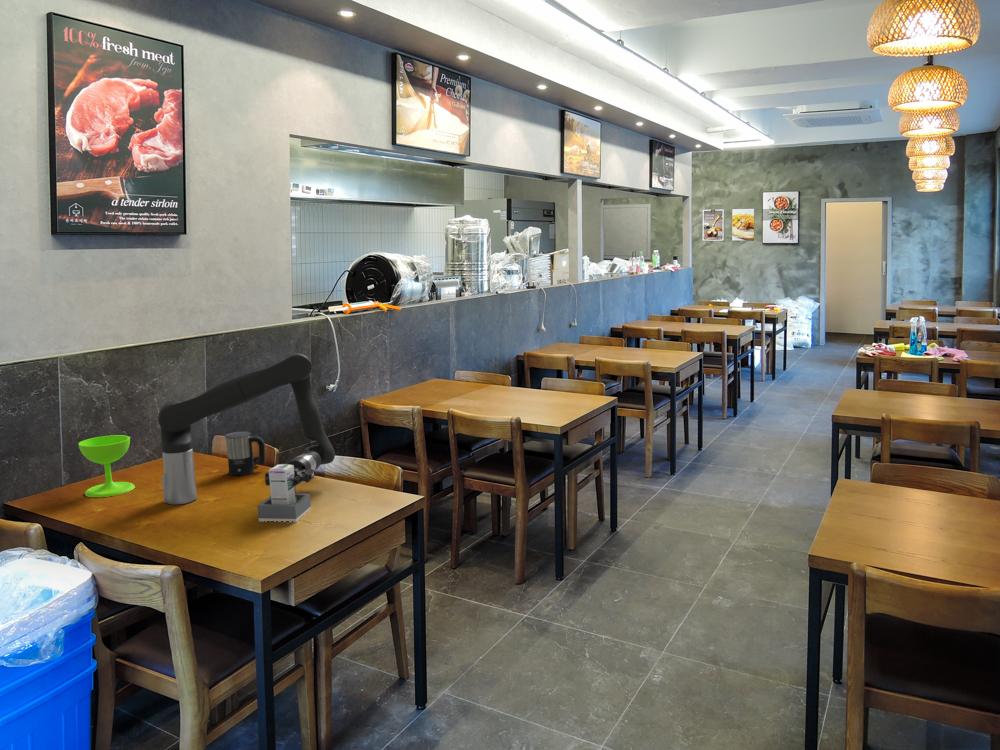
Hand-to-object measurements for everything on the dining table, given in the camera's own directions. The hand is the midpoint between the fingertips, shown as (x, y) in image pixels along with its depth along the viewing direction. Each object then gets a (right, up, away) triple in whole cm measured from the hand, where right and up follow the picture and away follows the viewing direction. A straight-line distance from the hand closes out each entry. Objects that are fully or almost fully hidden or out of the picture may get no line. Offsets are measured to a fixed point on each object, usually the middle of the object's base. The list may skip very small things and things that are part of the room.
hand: (280, 482), depth 232 cm
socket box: (+1, -11, +4) cm, 11 cm away
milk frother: (-29, -3, +57) cm, 64 cm away
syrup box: (0, -10, +4) cm, 10 cm away
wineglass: (-69, -8, +34) cm, 77 cm away
